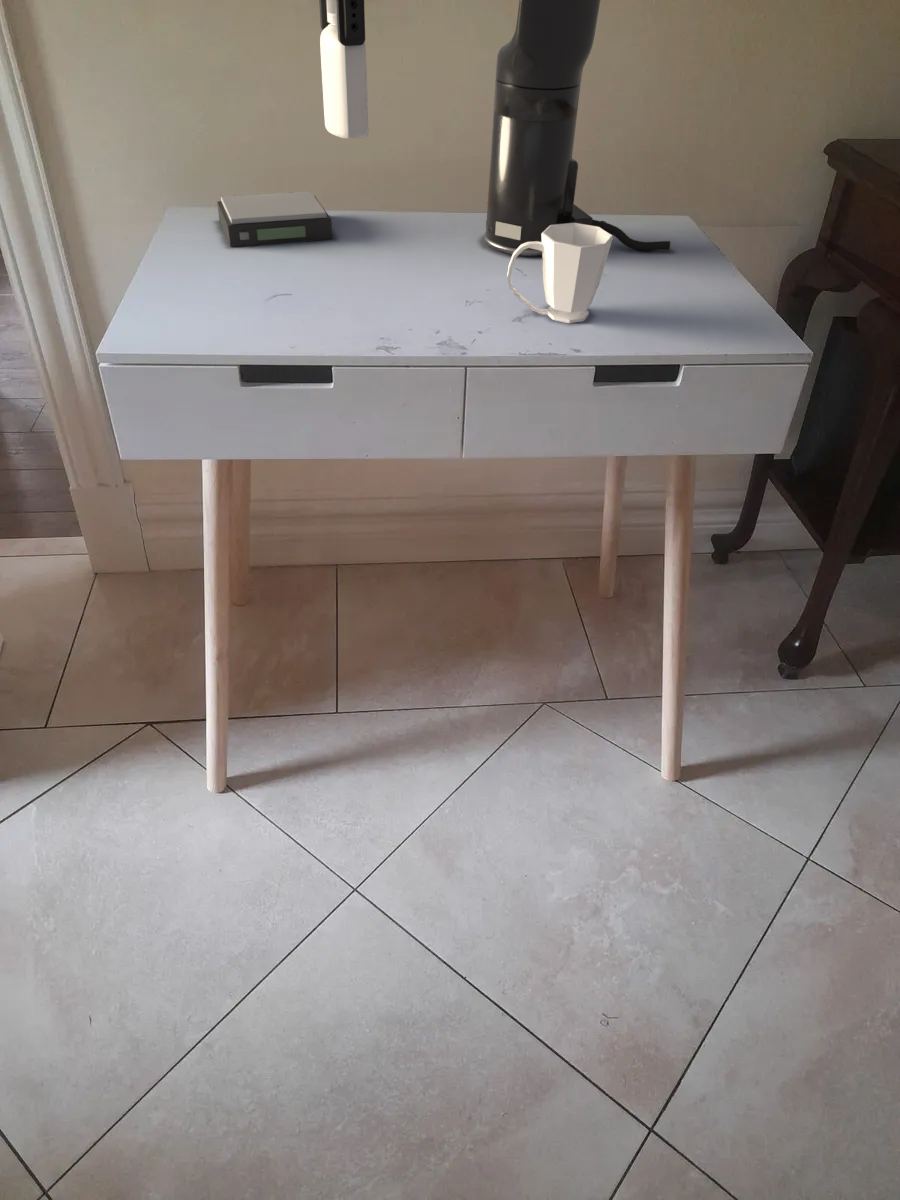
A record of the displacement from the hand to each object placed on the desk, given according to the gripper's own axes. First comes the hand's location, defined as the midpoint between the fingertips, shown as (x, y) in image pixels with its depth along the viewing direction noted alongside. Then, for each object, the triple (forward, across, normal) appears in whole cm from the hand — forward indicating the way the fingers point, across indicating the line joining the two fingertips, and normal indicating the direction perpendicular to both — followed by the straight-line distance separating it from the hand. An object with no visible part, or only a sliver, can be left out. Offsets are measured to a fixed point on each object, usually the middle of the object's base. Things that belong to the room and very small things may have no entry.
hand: (342, 37), depth 77 cm
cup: (+24, -9, -19) cm, 32 cm away
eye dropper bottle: (+8, 0, 0) cm, 8 cm away
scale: (+23, +22, +4) cm, 32 cm away
